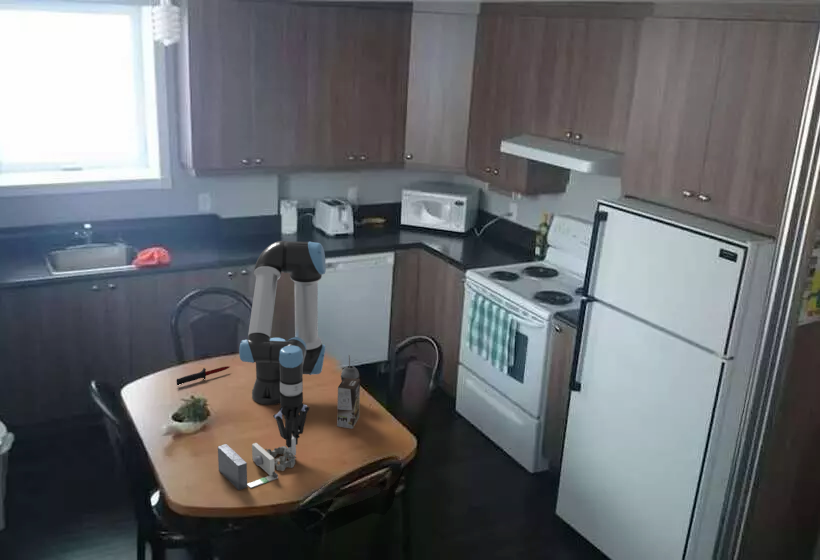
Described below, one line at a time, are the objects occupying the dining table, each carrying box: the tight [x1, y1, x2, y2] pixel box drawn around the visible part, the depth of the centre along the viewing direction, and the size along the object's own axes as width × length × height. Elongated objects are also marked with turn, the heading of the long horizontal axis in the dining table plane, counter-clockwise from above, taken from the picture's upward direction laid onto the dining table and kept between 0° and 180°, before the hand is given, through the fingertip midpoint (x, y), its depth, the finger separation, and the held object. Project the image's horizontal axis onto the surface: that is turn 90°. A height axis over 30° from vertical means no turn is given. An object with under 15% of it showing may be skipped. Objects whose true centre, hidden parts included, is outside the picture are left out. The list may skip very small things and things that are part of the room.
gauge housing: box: [217, 443, 279, 491], centre depth 257 cm, size 15×14×9 cm
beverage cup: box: [340, 354, 360, 381], centre depth 305 cm, size 7×7×20 cm
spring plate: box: [251, 442, 279, 478], centre depth 261 cm, size 14×3×6 cm, turn 40°
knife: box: [176, 366, 230, 386], centre depth 321 cm, size 24×2×5 cm, turn 132°
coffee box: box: [336, 378, 361, 430], centre depth 292 cm, size 9×6×16 cm
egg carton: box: [264, 445, 297, 472], centre depth 266 cm, size 11×8×4 cm
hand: (291, 453), depth 269 cm, fingers closed
